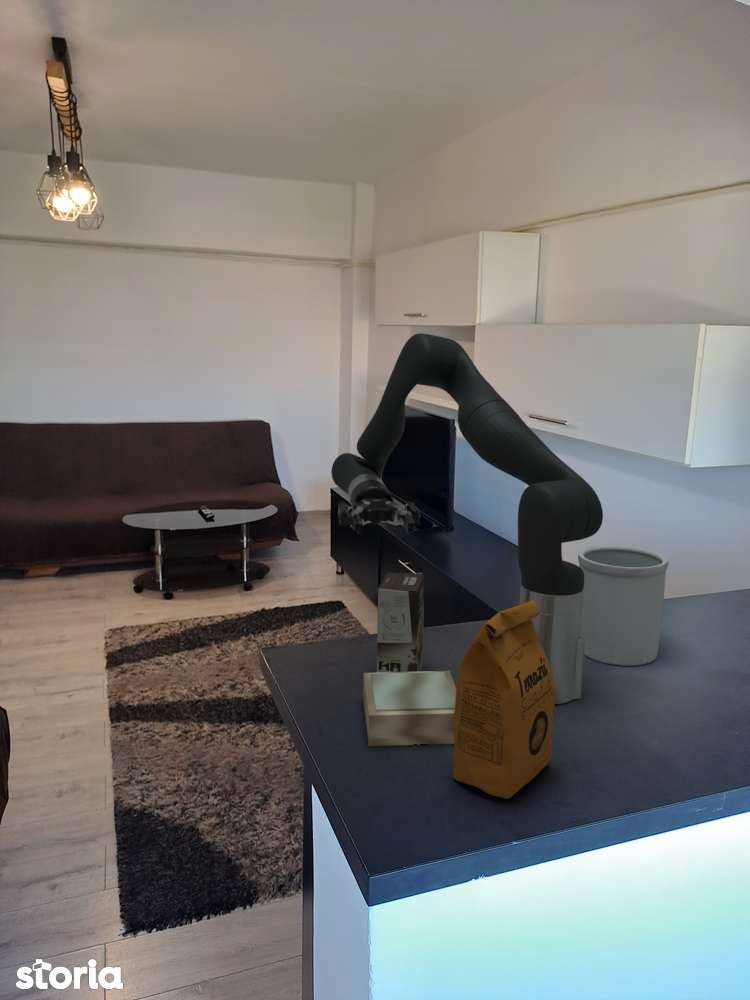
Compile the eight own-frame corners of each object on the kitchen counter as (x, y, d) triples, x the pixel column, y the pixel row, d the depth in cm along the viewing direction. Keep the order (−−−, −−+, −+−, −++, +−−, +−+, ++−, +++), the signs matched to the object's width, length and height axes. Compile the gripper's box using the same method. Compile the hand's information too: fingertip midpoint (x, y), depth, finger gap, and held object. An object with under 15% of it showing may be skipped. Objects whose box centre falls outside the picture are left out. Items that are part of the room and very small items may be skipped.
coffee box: (415, 689, 117) (417, 591, 114) (375, 685, 118) (376, 587, 115) (423, 665, 126) (426, 573, 122) (386, 661, 127) (387, 570, 124)
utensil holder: (554, 647, 133) (561, 553, 130) (602, 627, 143) (609, 538, 139) (629, 676, 122) (638, 573, 119) (675, 652, 132) (685, 556, 128)
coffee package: (564, 771, 95) (575, 607, 91) (506, 813, 87) (516, 634, 82) (499, 741, 102) (507, 587, 98) (440, 777, 94) (446, 611, 89)
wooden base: (448, 698, 114) (449, 669, 113) (464, 743, 102) (465, 710, 101) (363, 700, 113) (363, 670, 112) (368, 746, 101) (368, 713, 100)
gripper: (333, 479, 140) (344, 507, 125) (407, 479, 142) (427, 506, 127) (331, 517, 142) (343, 549, 127) (405, 516, 145) (424, 547, 130)
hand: (385, 528), depth 127 cm, fingers open, 8 cm apart
